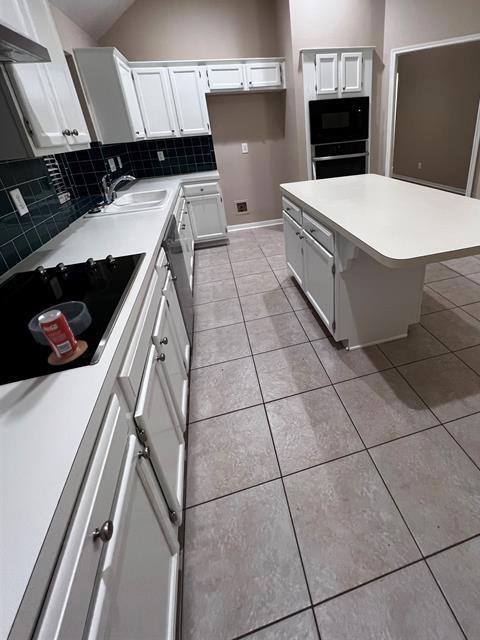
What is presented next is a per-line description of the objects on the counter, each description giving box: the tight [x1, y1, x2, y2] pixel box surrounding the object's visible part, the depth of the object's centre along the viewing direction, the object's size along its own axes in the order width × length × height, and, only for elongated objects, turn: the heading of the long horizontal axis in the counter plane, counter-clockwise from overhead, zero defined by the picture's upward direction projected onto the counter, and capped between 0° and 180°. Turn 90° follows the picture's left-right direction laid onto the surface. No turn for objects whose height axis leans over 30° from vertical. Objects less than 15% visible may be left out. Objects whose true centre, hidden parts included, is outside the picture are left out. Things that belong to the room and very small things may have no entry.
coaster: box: [47, 340, 88, 366], centre depth 84 cm, size 9×9×1 cm
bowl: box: [27, 301, 93, 346], centre depth 92 cm, size 14×14×6 cm
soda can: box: [38, 310, 78, 358], centre depth 81 cm, size 5×5×12 cm
